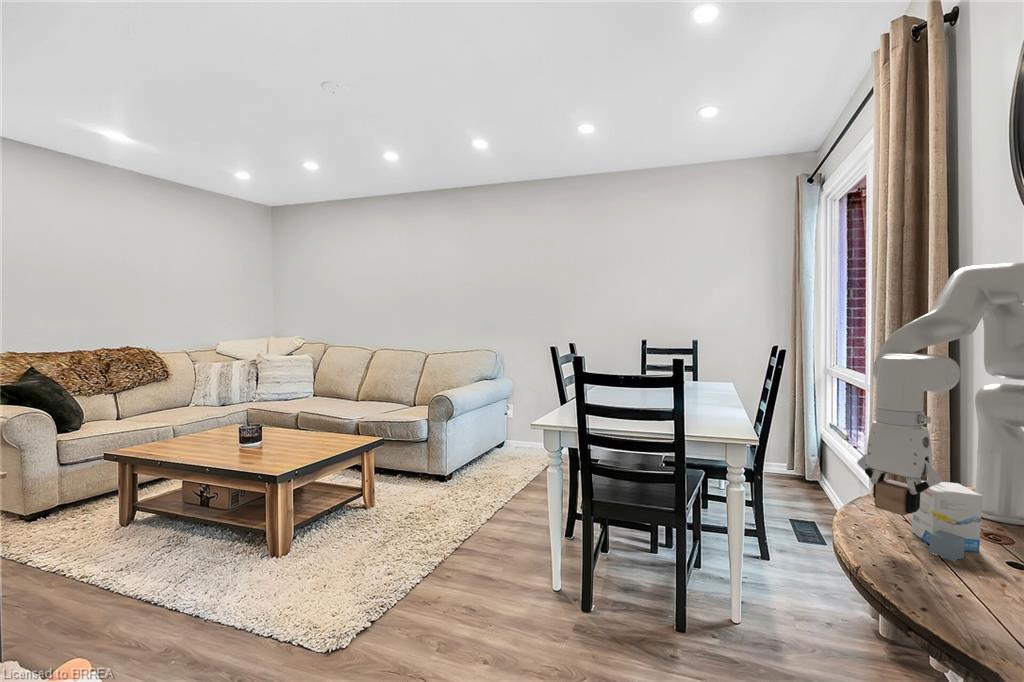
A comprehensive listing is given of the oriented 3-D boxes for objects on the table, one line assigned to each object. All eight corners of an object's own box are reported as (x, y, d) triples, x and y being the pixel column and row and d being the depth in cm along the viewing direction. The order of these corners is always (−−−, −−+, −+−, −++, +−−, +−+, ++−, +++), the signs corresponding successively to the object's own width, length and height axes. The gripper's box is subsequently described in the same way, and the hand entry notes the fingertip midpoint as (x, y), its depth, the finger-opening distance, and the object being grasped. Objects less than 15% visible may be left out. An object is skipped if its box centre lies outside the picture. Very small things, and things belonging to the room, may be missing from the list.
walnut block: (888, 503, 108) (889, 479, 108) (916, 511, 104) (917, 486, 103) (875, 507, 106) (875, 483, 106) (902, 515, 101) (903, 490, 101)
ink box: (981, 552, 104) (984, 495, 103) (932, 547, 106) (935, 490, 105) (955, 535, 112) (958, 482, 112) (910, 531, 114) (913, 478, 114)
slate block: (939, 549, 105) (940, 530, 105) (963, 558, 101) (964, 537, 101) (929, 553, 103) (930, 533, 103) (953, 562, 100) (954, 541, 99)
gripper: (960, 424, 98) (956, 518, 99) (864, 409, 113) (861, 491, 114) (939, 428, 95) (935, 526, 96) (844, 412, 110) (841, 497, 111)
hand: (895, 506), depth 105 cm, fingers closed on walnut block, 4 cm apart
